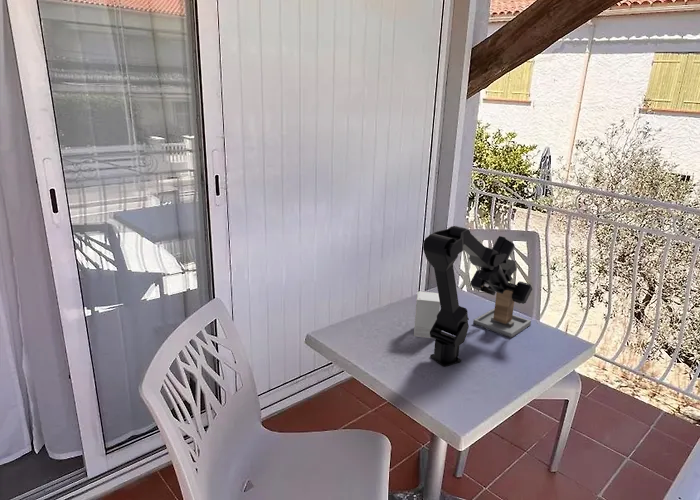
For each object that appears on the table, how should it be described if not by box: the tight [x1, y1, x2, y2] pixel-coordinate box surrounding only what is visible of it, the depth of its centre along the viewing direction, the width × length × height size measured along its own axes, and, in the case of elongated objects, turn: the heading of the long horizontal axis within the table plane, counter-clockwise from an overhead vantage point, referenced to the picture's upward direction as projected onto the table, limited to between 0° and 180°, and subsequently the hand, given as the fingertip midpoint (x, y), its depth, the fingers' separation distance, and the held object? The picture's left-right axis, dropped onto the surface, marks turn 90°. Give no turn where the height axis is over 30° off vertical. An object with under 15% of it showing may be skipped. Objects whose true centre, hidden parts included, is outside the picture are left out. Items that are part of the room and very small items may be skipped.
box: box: [472, 307, 532, 339], centre depth 162 cm, size 14×14×2 cm
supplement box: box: [413, 291, 441, 339], centre depth 153 cm, size 7×7×13 cm
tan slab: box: [491, 290, 515, 327], centre depth 160 cm, size 4×7×13 cm, turn 46°
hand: (507, 298), depth 160 cm, fingers open, 9 cm apart
